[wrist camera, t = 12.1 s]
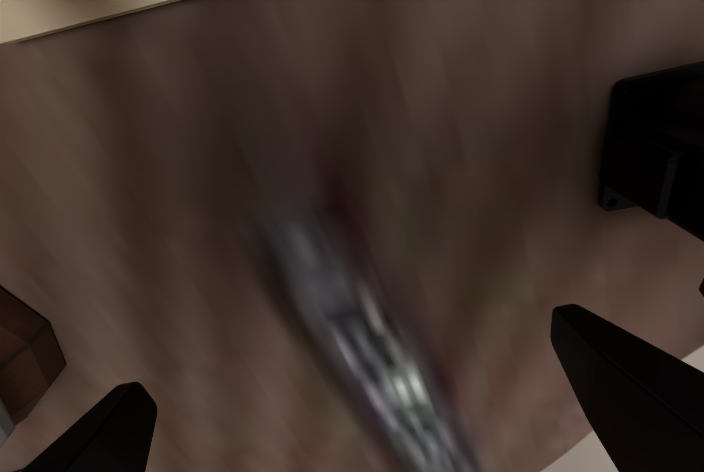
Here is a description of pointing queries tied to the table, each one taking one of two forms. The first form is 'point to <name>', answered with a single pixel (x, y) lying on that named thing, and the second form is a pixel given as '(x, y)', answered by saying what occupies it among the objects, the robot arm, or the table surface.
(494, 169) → the table surface
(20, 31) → the board
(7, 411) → the mug
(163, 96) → the table surface
